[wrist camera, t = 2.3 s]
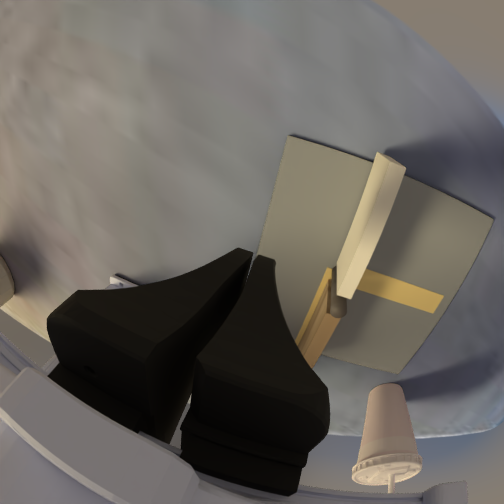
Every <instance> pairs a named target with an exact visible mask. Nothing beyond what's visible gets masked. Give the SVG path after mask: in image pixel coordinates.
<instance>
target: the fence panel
mask: <svg viewBox="0 0 504 504" xmlns="http://www.w3.org/2000/svg"><path fill="white" fill-rule="evenodd" d="M405 171H406V167H404V166H403V165H401V164H400V163H398V162H397V161H396V160H394V159H393V158H391V157H389V156H387V155H384V154H382V153H379V152H377V154H376V157H375V160H374V163H373V166H372V169H371V172H370V175H369V178H368V181H367V184H366V187H365V190H364V192H363V195H362V198H361V201H360V204H359V206H358V209H357V212H356V215H355V217H354V220H353V223H352V225H351V228H350V230H349V233H348V236H347V238H346V241H345V243H344V246H343V248H342V251H341V253H340V256H339V258H338V260H337V295H339V296H342V297H345V298H348V299H351V298H352V296H353V294H354V292H355V290H356V288H357V286H358V284H359V282H360V280H361V278H362V275H363V273H364V271H365V269H366V267H367V265H368V263H369V260H370V258H371V256H372V254H373V252H374V249H375V247H376V245H377V242H378V240H379V238H380V236H381V233H382V231H383V228H384V226H385V224H386V221H387V219H388V216H389V214H390V211H391V209H392V206H393V203H394V201H395V198H396V196H397V193H398V190H399V187H400V185H401V182H402V179H403V176H404V173H405Z"/></svg>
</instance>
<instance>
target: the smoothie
mask: <svg viewBox="0 0 504 504" xmlns="http://www.w3.org/2000/svg"><path fill="white" fill-rule="evenodd" d="M421 469H422V457H421V456H420V455H418V451H417V446H416V441H415V437H414V433H413V428H412V424H411V420H410V416H409V412H408V408H407V404H406V400H405V397H404V393H403V389H402V387H401V386H400V385H398V384H394V383H386V384H382V385H379V386H377V387H375V388H374V389H372V390H371V392H370V393H369V398H368V405H367V412H366V418H365V424H364V430H363V436H362V441H361V446H360V451H359V455H358V461H357V464H356V465H355V466H354V467H353V469H352V472H353V473H352V479H353V480H354V481H355V482H357V483H359V484H364V485H386V484H388V493H394V492H395V483H396V482H400V481H403V480H406V479H408V478H411V477H413V476H414V475H416V474H417V473H419V472H420V471H421Z"/></svg>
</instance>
